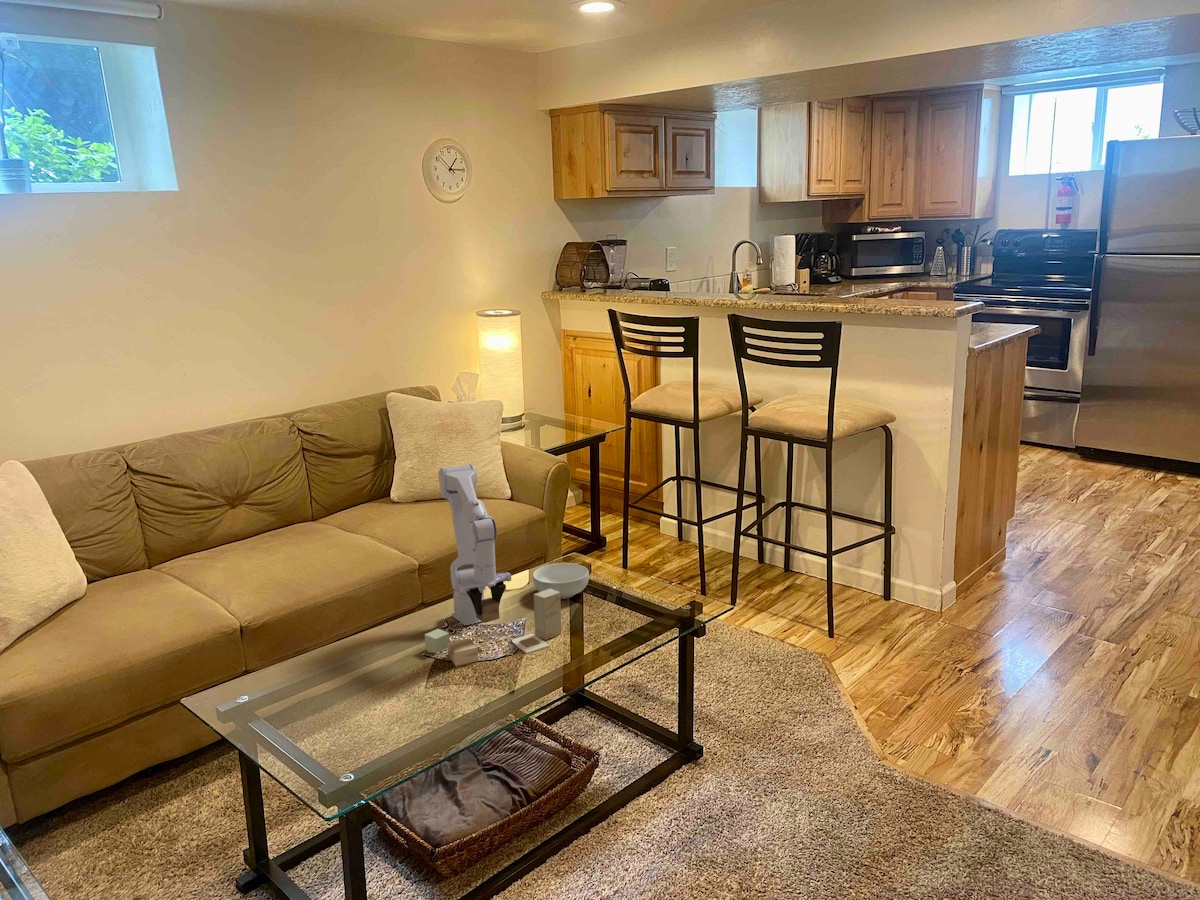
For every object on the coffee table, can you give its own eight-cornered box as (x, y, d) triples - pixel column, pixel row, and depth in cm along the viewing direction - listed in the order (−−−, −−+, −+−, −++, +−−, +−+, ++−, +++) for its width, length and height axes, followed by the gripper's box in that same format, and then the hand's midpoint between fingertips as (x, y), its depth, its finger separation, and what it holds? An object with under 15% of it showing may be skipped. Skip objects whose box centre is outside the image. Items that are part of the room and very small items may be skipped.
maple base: (448, 657, 230) (447, 643, 229) (470, 652, 232) (469, 638, 231) (455, 666, 224) (454, 652, 223) (478, 661, 227) (477, 647, 226)
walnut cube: (476, 617, 236) (475, 601, 235) (491, 613, 239) (490, 597, 238) (484, 623, 233) (483, 607, 232) (499, 618, 235) (498, 602, 234)
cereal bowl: (567, 579, 280) (566, 558, 279) (600, 594, 268) (600, 572, 266) (522, 593, 270) (521, 571, 268) (555, 610, 257) (554, 587, 256)
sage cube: (425, 650, 234) (424, 634, 233) (439, 644, 237) (438, 628, 236) (436, 655, 231) (435, 639, 230) (450, 648, 234) (449, 633, 233)
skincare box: (544, 640, 237) (543, 598, 235) (534, 635, 241) (532, 594, 238) (562, 633, 242) (561, 591, 239) (551, 628, 245) (550, 587, 242)
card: (510, 641, 237) (509, 639, 237) (532, 634, 241) (532, 632, 241) (526, 653, 230) (526, 651, 230) (549, 646, 234) (549, 644, 234)
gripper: (466, 574, 225) (469, 623, 228) (516, 561, 233) (518, 609, 236) (454, 566, 231) (457, 614, 234) (503, 554, 239) (505, 601, 242)
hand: (487, 611), depth 235 cm, fingers closed on walnut cube, 4 cm apart
